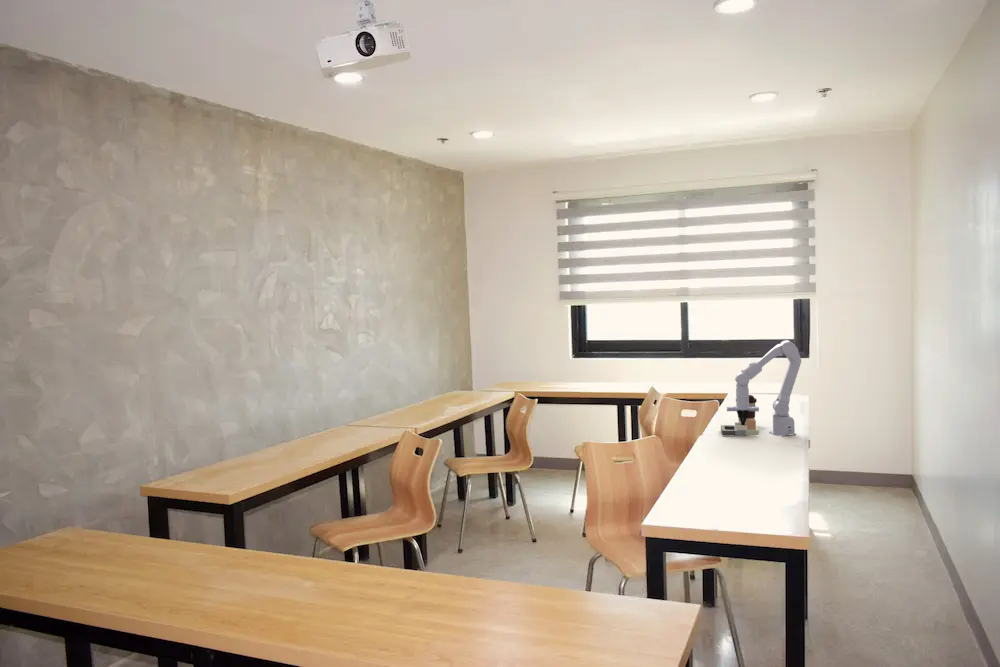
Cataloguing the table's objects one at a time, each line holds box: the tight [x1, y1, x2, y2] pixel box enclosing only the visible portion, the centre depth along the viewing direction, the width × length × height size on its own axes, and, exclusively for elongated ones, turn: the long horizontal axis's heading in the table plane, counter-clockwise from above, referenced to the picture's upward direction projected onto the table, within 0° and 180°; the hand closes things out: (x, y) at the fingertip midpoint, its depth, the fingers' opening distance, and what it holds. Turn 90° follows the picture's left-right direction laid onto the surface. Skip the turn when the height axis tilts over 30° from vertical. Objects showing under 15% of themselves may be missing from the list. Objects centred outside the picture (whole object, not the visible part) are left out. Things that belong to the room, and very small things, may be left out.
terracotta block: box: [746, 418, 757, 429], centre depth 351 cm, size 4×5×4 cm
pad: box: [745, 425, 760, 435], centre depth 351 cm, size 6×11×2 cm, turn 166°
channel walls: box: [734, 421, 747, 430], centre depth 352 cm, size 5×9×2 cm, turn 166°
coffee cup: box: [737, 394, 758, 422], centre depth 370 cm, size 10×10×15 cm
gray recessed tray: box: [720, 424, 747, 437], centre depth 353 cm, size 10×13×2 cm
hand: (743, 426), depth 352 cm, fingers closed
